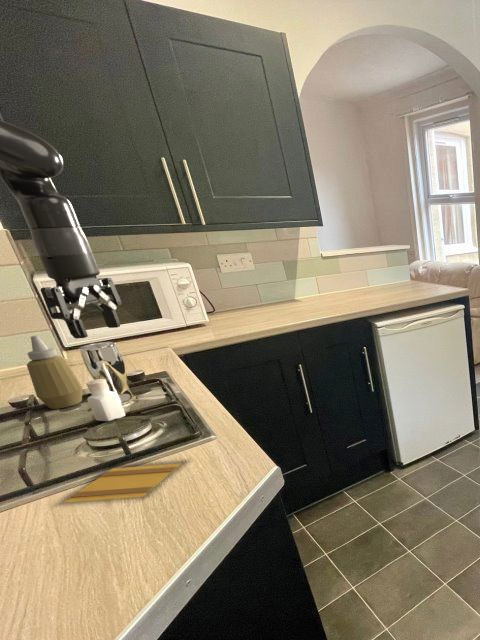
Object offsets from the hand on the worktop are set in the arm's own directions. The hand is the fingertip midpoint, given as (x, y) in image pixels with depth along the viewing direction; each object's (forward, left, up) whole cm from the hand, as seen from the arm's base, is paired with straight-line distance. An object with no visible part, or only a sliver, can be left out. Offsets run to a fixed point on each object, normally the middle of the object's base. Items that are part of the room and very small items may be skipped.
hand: (98, 332), depth 88 cm
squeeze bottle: (-26, +13, -21) cm, 36 cm away
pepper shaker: (-7, +2, -21) cm, 22 cm away
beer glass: (-13, +13, -21) cm, 28 cm away
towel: (+17, -27, -21) cm, 38 cm away
